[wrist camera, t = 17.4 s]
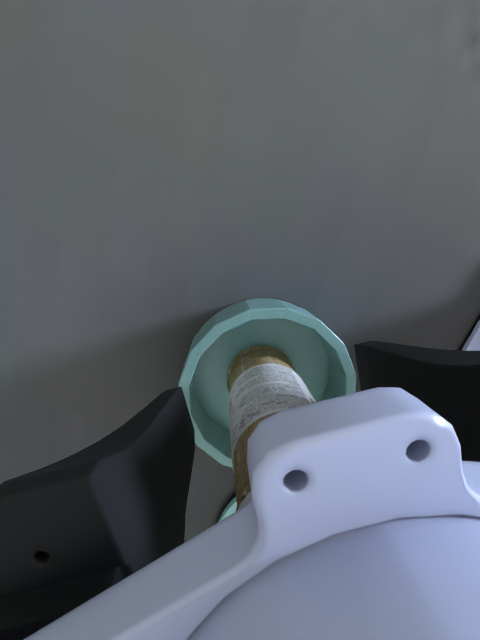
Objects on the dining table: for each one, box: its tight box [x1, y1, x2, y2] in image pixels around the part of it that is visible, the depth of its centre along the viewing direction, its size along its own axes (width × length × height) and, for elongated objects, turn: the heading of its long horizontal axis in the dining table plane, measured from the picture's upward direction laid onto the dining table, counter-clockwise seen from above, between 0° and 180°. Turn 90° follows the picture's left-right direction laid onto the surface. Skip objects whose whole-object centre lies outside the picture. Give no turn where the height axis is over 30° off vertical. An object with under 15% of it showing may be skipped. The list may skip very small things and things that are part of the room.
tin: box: [178, 298, 356, 468], centre depth 20 cm, size 10×10×4 cm
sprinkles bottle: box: [226, 345, 316, 511], centre depth 14 cm, size 5×5×14 cm
